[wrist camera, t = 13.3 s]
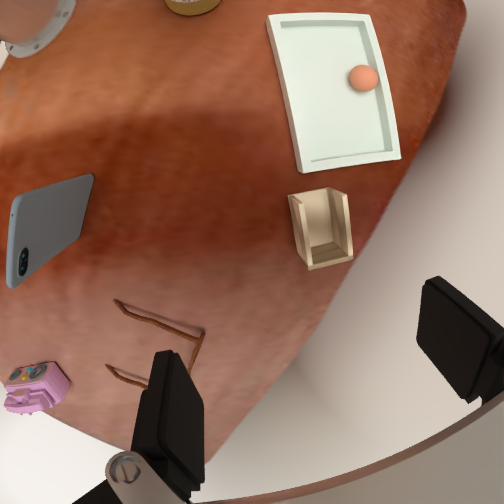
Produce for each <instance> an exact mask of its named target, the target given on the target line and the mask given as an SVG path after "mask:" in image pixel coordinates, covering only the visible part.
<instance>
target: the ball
mask: <svg viewBox="0 0 504 504" xmlns="http://www.w3.org/2000/svg"><path fill="white" fill-rule="evenodd" d="M350 81H351V84H352V85H353V86H354V87H355V88H356V89H358V90H360V91H363V92H368V91H371V90H373V89H374V88H375V87H376V86H377V83H378V76H377V74H376V72H375V71H374V69H372V68H371V67H369V66H367V65H358V66H355V67H354V68H353V69H352V70H351V72H350Z"/></svg>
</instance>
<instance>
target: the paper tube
mask: <svg viewBox="0 0 504 504" xmlns="http://www.w3.org/2000/svg"><path fill="white" fill-rule="evenodd" d="M220 1H221V0H165V2H166V4H167V6H168V7H169V8H170V9H171V10H172V11H174V12H175V13H178V14H181V15H198V14H202V13H205V12H208V11H210V10H211V9H213V8H214V7H216V6H217V5H218V4H219V3H220Z"/></svg>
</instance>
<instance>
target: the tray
mask: <svg viewBox="0 0 504 504" xmlns="http://www.w3.org/2000/svg"><path fill="white" fill-rule="evenodd" d="M265 24H266V28H267V32H268V35H269V39H270V43H271V47H272V51H273V55H274V59H275V63H276V68H277V72H278V76H279V81H280V85H281V89H282V94H283V98H284V103H285V108H286V113H287V117H288V122H289V127H290V132H291V137H292V142H293V148H294V153H295V158H296V164H297V169H298V172H301V173H308V172H314V171H320V170H326V169H332V168H338V167H345V166H351V165H358V164H365V163H372V162H380V161H388V160H396V159H401V155H400V147H399V140H398V133H397V126H396V120H395V114H394V109H393V103H392V98H391V93H390V88H389V84H388V79H387V75H386V71H385V67H384V63H383V59H382V55H381V51H380V48H379V44H378V41H377V37H376V34H375V31H374V27H373V24H372V21H371V18H370V15H365V14H350V13H291V14H276V15H268V18H267V20H266V23H265ZM358 65H367V66H369V67H371V68H372V69H374V71H375V72H376V74H377V76H378V83H377V86H376V87H375V88H374V89H373V90H371V91H368V92H363V91H360V90H358V89H356V88H355V87H354V86H353V85H352V84H351V81H350V72H351V70H352V69H353V68H354V67H355V66H358Z"/></svg>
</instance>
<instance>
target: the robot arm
mask: <svg viewBox="0 0 504 504" xmlns="http://www.w3.org/2000/svg"><path fill="white" fill-rule="evenodd" d="M76 4H77V0H0V40H2V41H5V46H6V49H7V51H8V53H9V54H10V55H12V56H13V57H16V58H27V57H30V56H33V55H35V54H37V53H39V52H40V51H42V50H43V49H45V48H46V47H47V46H48V45H50V44H51V43H52V42H53V41H54V40H55V39H56V38H57V37H58V36H59V35H60V33H61V32H62V31H63V30H64V28H65V27H66V25H67V24H68V22H69V21H70V19H71V17H72V15H73V13H74V10H75V8H76ZM67 14H68V16H66V15H67ZM38 46H39V48H38ZM37 48H38V49H37ZM416 340H417V343H418V345H419V346H420V348H421V349H422V350H423V351H424V353H425V354H426V355H427V356H428V358H429V359H430V360H431V361H432V363H433V364H434V365H435V366H436V368H437V369H438V370H439V371H440V372H441V374H442V375H443V376H444V378H445V379H446V380H447V381H448V383H449V384H450V385H451V387H452V388H453V389H454V390H455V392H456V393H457V394H458V396H459V397H460V398H461V399H465V400H466V402H467V403H468V404H469V403H471V402H472V401H474V400H475V399H477V398H478V397H479V396H480V397H481V398H482V405H481V407H480V408H478V409H477V410H475V411H474V412H472V413H470V414H469V415H467V416H466V417H464V418H463V419H461V420H459V421H458V422H456V423H454V424H453V425H451V426H449V427H448V428H446V429H444V430H442V431H441V432H439V433H437V434H435V435H433V436H431V437H429V438H428V439H426V440H424V441H422V442H420V443H418V444H416V445H414V446H412V447H409V448H407V449H405V450H403V451H401V452H399V453H396V454H394V455H392V456H389V457H387V458H385V459H383V460H380V461H377V462H375V463H373V464H370V465H367V466H365V467H362V468H359V469H356V470H354V471H351V472H348V473H345V474H342V475H339V476H335V477H332V478H329V479H326V480H322V481H319V482H315V483H311V484H308V485H304V486H300V487H295V488H291V489H287V490H282V491H277V492H272V493H267V494H261V495H255V496H249V497H243V498H236V499H228V500H219V501H211V502H203V503H192V501H191V500H189V498H191V491H200V484H201V483H204V481H205V468H204V404H203V401H202V398H201V396H200V395H199V393H198V391H197V389H196V387H195V385H194V383H193V381H192V379H191V377H190V375H189V373H188V372H187V370H186V368H185V366H184V364H183V361H182V359H181V357H180V355H179V354H178V353H174V352H173V351H172V350H166V351H160V352H156V353H155V356H154V361H153V365H152V370H151V374H150V379H149V384H148V388H147V389H145V390H144V391H143V392H142V394H141V399H140V404H139V408H138V413H137V418H136V423H135V428H134V434H133V439H132V445H131V450H130V451H123V452H120V453H118V454H116V455H114V456H113V457H112V458H111V459H110V460H109V461H108V463H107V465H106V468H105V476H106V478H107V479H106V480H104V481H103V482H102V483H100V484H99V485H98V486H96V487H95V488H93V489H92V490H91V491H89V492H88V493H86V494H85V495H84V496H82V497H81V498H79V499H78V500H76V501H75V502H74V503H72V504H504V328H503V327H502V326H501V325H500V324H498V323H497V322H496V321H495V320H494V319H493V318H491V317H490V316H489V315H488V314H487V313H485V312H484V311H483V310H482V309H481V308H480V307H478V306H477V305H476V304H475V303H474V302H472V301H471V300H470V299H469V298H467V297H466V296H465V295H464V294H462V293H461V292H460V291H459V290H457V289H456V288H455V287H454V286H452V285H451V284H450V283H448V282H447V281H446V280H444V279H443V278H441V277H440V276H436V277H433V278H431V279H428V280H426V281H425V285H423V287H422V295H421V305H420V314H419V322H418V330H417V336H416Z"/></svg>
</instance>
